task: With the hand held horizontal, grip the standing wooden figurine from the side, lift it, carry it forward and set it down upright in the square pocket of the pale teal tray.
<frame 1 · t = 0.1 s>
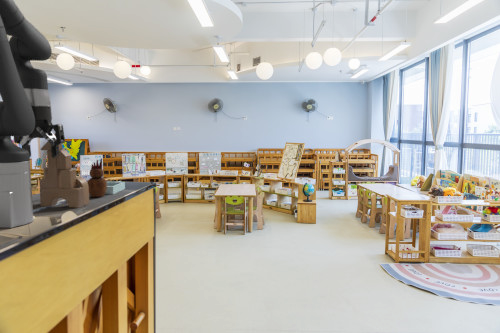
hand: (41, 157, 98), 17 cm above the table, tool pointing down, fingers open, 8 cm apart
wooden toy: (63, 205, 109), on the table
pale teal tray: (105, 191, 134), on the table
wooden figurine: (97, 197, 123), on the table
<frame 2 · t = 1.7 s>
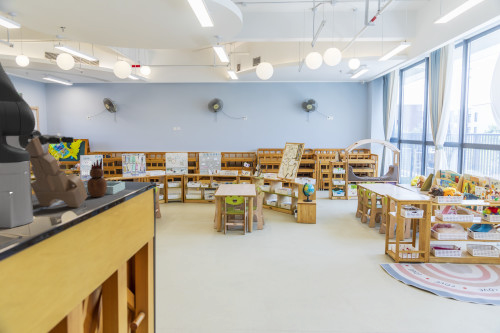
hand: (66, 140, 120), 22 cm above the table, tool horizontal, fingers open, 8 cm apart
wooden toy: (63, 201, 108), point 1 cm above the table
everything else where it was.
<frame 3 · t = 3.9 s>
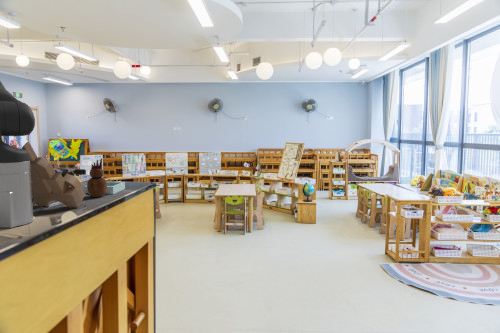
hand: (79, 173, 122), 9 cm above the table, tool horizontal, fingers open, 8 cm apart
wooden toy: (61, 200, 108), point 2 cm above the table, touching arm
everything else where it was.
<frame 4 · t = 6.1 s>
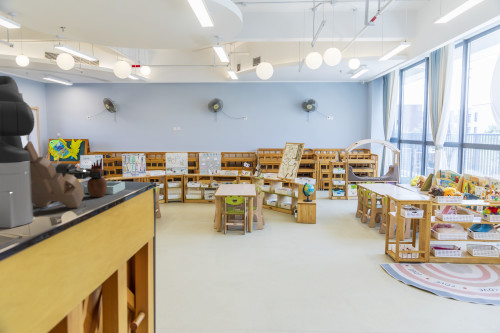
hand: (103, 173, 122), 9 cm above the table, tool horizontal, fingers closed on wooden figurine, 4 cm apart
wooden figurine: (97, 197, 123), on the table, touching gripper
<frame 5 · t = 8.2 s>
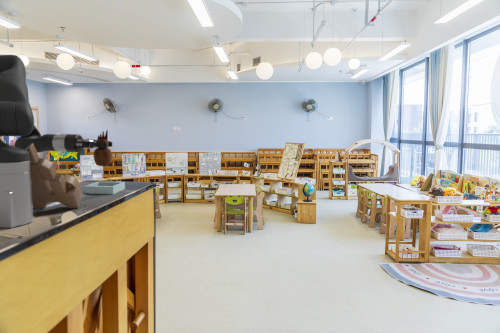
hand: (109, 144, 131), 20 cm above the table, tool horizontal, fingers closed on wooden figurine, 4 cm apart
wooden toy: (57, 201, 106), point 2 cm above the table
wooden figurine: (103, 166, 132), point 11 cm above the table, touching gripper
when the fingers open (11 cm above the table, at t = 10.3 s): wooden figurine stays where it is, resting on pale teal tray.
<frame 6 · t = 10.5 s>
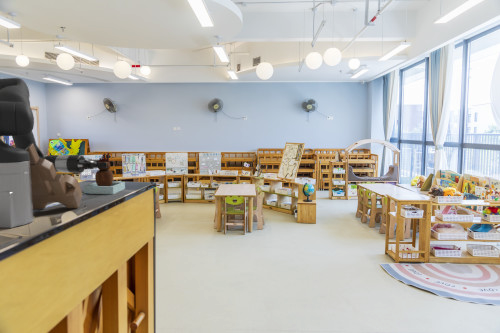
hand: (110, 164, 132), 11 cm above the table, tool horizontal, fingers open, 6 cm apart
wooden figurine: (104, 187, 133), point 1 cm above the table, touching pale teal tray
everything else where it was.
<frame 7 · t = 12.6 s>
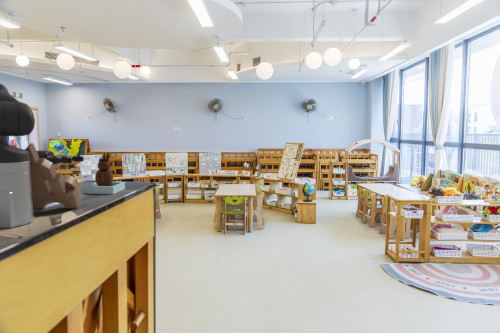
hand: (77, 159, 132), 13 cm above the table, tool horizontal, fingers open, 8 cm apart
wooden toy: (56, 201, 105), point 2 cm above the table, touching arm
everything else where it was.
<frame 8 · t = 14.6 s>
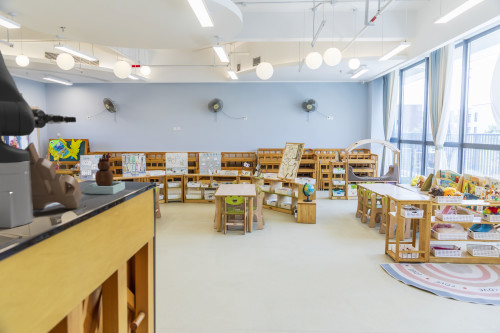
hand: (69, 119, 127), 30 cm above the table, tool horizontal, fingers open, 8 cm apart
nothing on the table moved.
at the end: wooden figurine inside the target area on the pale teal tray (0.1 cm from its centre), point 1.4 cm above the pale teal tray's base; wooden figurine tilted 0°; the gripper is holding nothing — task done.
